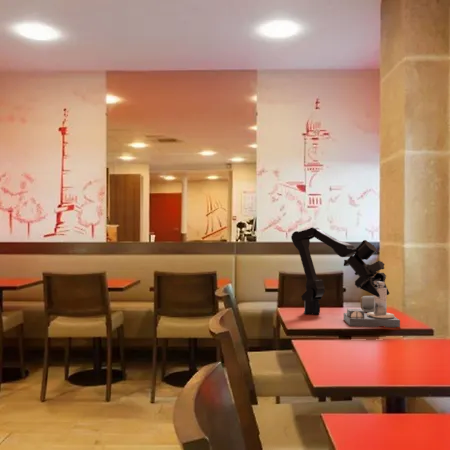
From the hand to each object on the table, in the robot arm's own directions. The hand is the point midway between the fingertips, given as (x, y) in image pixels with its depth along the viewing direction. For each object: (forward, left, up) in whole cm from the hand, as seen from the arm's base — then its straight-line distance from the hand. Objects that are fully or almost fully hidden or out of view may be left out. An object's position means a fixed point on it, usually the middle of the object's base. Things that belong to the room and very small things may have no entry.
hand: (383, 295), depth 210 cm
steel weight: (-1, +1, -8) cm, 8 cm away
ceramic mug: (+2, +34, -12) cm, 36 cm away
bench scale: (-5, +1, -12) cm, 13 cm away
